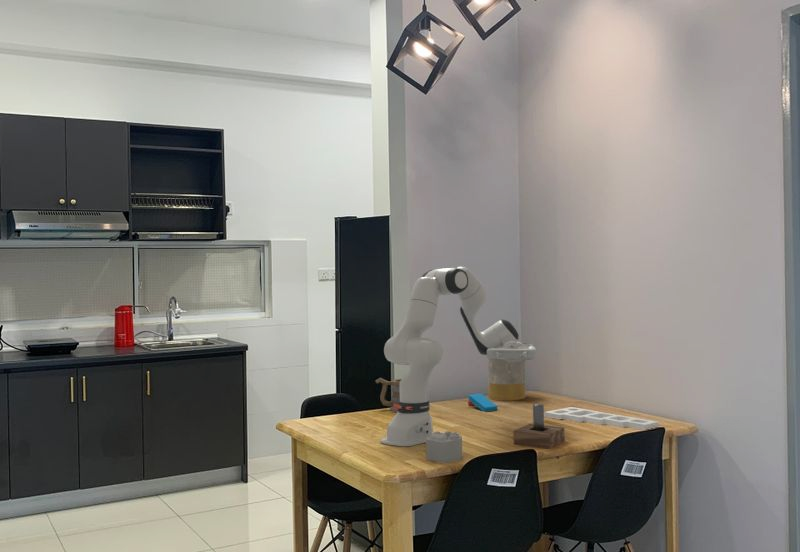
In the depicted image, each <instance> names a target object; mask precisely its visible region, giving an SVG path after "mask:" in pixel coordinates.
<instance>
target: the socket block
mask: <svg viewBox="0 0 800 552" xmlns="http://www.w3.org/2000/svg"><path fill="white" fill-rule="evenodd" d="M565 441H566V440H565V427H563V426H556V425H555V426H554V425H545V424H544V431H536V430H533V423H529V424H527V425H523V426H521V427H519V428H516V429H514V430H513V445H517V446H518V445H519V446H525V447H526V446H527V447H536V448H541V449H542V448H543V449H551V448H553V447H555V446H557V445H559V444H561V443H563V442H565Z"/></svg>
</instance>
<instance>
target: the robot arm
mask: <svg viewBox="0 0 800 552" xmlns="http://www.w3.org/2000/svg"><path fill="white" fill-rule="evenodd" d="M450 295H456V296H457V297H458V299H459V300H460V303H461V306H460V308H459V311H460V315H461V316H462V317H461V318H462V319H463V322H464V323H465V326H466V328H467V329H468V330H467V331H468V332H469V334H470V336H471V338H472V340H473V344H474V347H475V348H476V351H478V353H479V354H480V355H483V356H486V358H487V359H488V358H504V359H505V360H506V361H508V362H512V363H513V362H517V361H521V360H525V361H529V360H533V359H537V348H536V347H535V346H534V345H533V343H525V342H521V341H520V340H519V337H520V336H519V335H520V334H519V332H518V330H517V329H516V328H515V326H514V325H513V324H512V323H511V322H510V321H508V320H507V319H500V320H498V321H496V322H495V323H493V324H492V325H491V326H489V327H487V328H486V329H485V330H483V331H480V330H479V328H478V326H477V324H476V322H475V318H476V316H477V314H478V313H479V311H480V310H481V308H483V306H484V304H485V303H486V299H487V291H486V289H485V287H484V285H483V284H482V283H481V281H480V279H479V278H478V277H477V276H476V275H475V274H474V273H473V272H472V271H471V270H470V269H469V268H468V267H466V266H457V267H450V268H449V267H445V268H444V267H440V268H436V269H430V270H428V271H425V272H424V273H423V274H422V275H421V276H420V277H419V278H417V280H416V281H415V282H414V285H413V288H412V290H411V294H410V297H409V302H408V306H407V311H406V313H405V318H404V320H403V322H402V324H401V326H400V328H399V329H398V330H397V332H396V333H395V334H394V335H393V336H391V337H390V338H389V339H388V340H387V341H386V342H385V343H384V347H383V353H384V357H385V359H386V360H387V362H391V363H394V364H396V365H403V366H409V371H408V373H407V375H405V376H403V377H402V378H400V379H401V381H400V401H399V404H398V405H397V404H394V409H397V411H398V412H396V414H395V415H394V417H393V418H392V420H391V421H390V422H389V423H388V425H387V427H386V436H385V437H383V438H381V439H380V442H379V443H382V444H384V445H387V446H388V445H389V446H395V447H396V446H397V447H412V446H416V445H420V444H424V443H425V444H426V438H427V437H430V436H432V435H433V434H434V427H433V426H434V425H433V418H432V416H431V415H430V410H431V409H430V407H431V404H430V400H429V381H430V377H431V375H432V372H433V370H434V368H435V367H436V366H437V365H439V364H440V362H441V361H442V359H443V355H444V349H443V346H442V344H441V343H440V341H438V340H436V339H433V338H429V337H422V336H423V334H424V333H425V332H426V331H428V330H429V329H430V328H432V326H433V325H434V320H435V316H436V312H437V307H438V302H439V297H440V296H450ZM502 345H503V347H502V348H499V347H501V346H502Z"/></svg>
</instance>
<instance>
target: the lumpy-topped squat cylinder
mask: <svg viewBox="0 0 800 552" xmlns="http://www.w3.org/2000/svg"><path fill="white" fill-rule="evenodd" d="M425 448H426V449H425V450H426V451H425V456H426V461H430V462H431V461H432V462H436V463H441V464H446V463H452V462H455V461H459V460H461V459H463V436H462V435H461V434H459V433H457V432H456V431H454V432H453V431H450V430H446V431H445V432H440V431H435V432H433V435H432V436H430V437H427V438H426V442H425Z"/></svg>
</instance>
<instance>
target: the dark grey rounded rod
mask: <svg viewBox="0 0 800 552" xmlns="http://www.w3.org/2000/svg"><path fill="white" fill-rule="evenodd" d="M532 424H533V430H536V431H544V425H545V405H544V403H533V404H532Z"/></svg>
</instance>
